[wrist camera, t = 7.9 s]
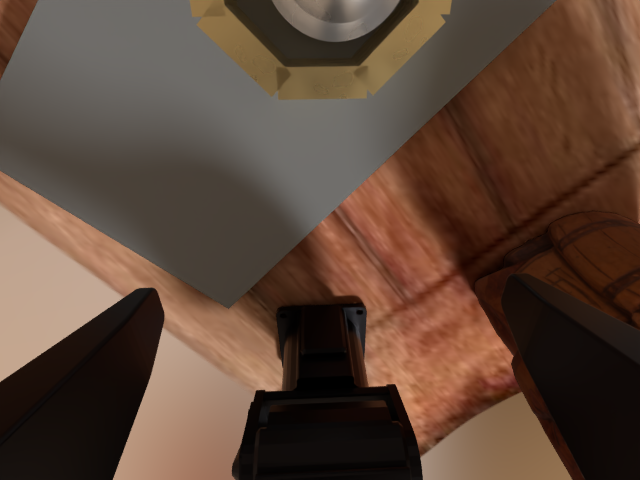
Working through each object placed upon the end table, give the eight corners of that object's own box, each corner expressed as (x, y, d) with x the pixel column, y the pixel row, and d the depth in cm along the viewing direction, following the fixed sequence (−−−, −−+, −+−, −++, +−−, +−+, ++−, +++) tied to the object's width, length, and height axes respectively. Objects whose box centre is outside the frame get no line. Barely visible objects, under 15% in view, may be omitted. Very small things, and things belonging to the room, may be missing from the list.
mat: (232, 294, 26) (228, 308, 25) (-12, 141, 20) (-33, 150, 18) (540, -1, 17) (558, -2, 16) (276, -440, 11) (272, -498, 10)
